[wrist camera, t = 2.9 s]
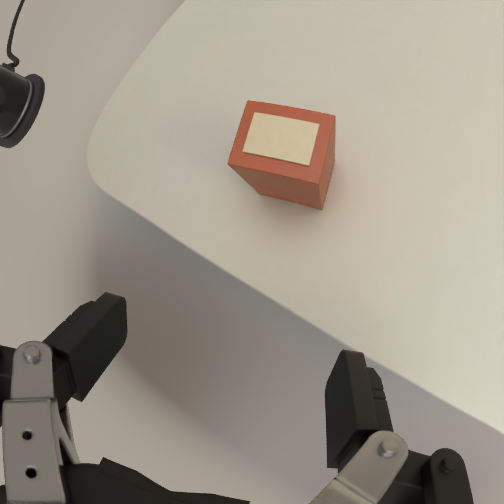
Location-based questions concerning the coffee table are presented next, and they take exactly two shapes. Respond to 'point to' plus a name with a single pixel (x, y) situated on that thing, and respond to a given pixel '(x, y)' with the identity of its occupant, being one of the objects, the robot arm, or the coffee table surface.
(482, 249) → the coffee table surface
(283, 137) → the orange box with label
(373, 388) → the robot arm
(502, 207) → the coffee table surface
